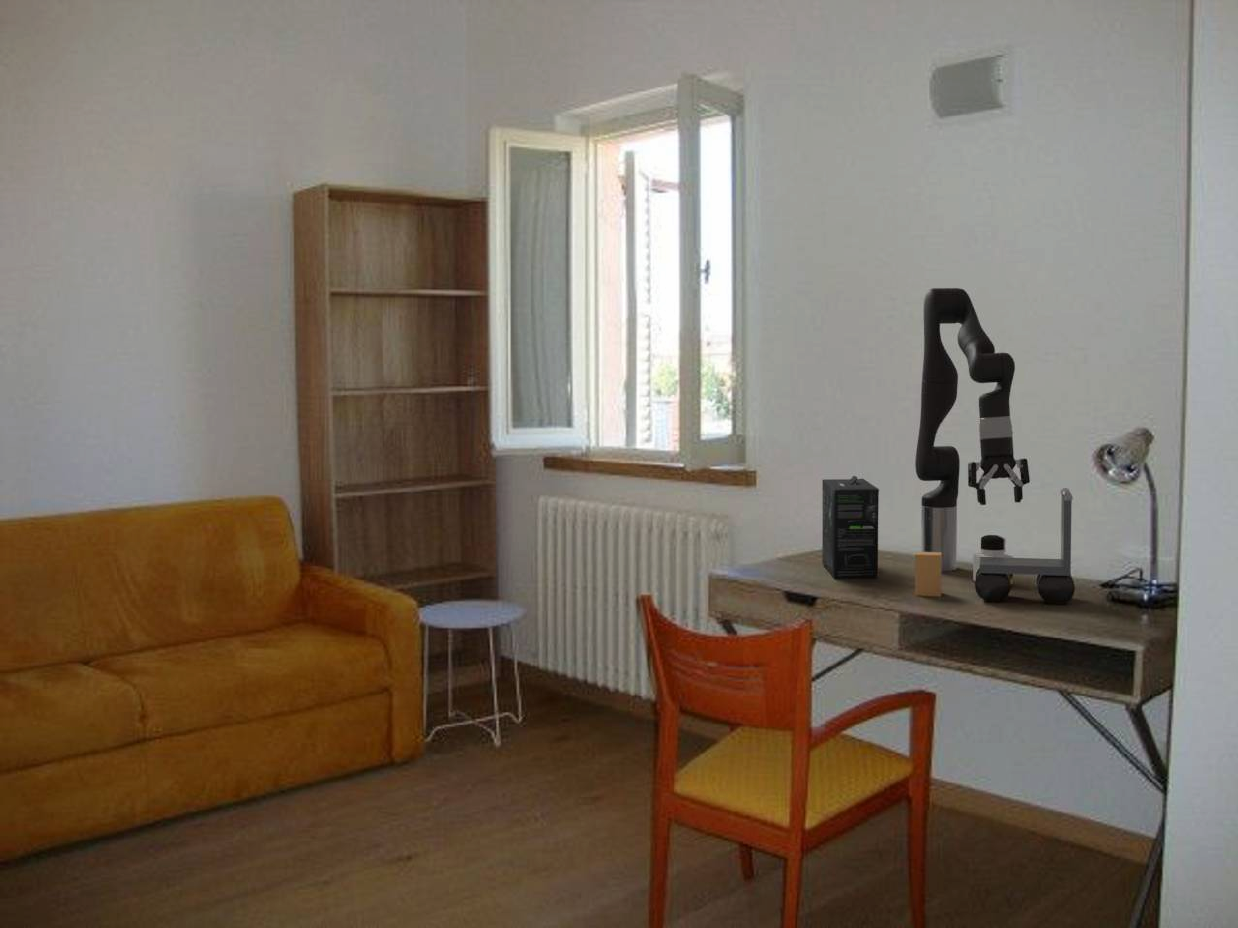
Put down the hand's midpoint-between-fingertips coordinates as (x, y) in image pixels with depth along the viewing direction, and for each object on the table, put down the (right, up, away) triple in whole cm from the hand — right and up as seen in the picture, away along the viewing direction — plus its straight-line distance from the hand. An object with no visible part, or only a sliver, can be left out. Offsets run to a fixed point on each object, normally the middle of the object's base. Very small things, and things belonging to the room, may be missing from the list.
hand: (1000, 503), depth 295 cm
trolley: (+4, -23, -5) cm, 23 cm away
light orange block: (-16, -22, +4) cm, 28 cm away
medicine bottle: (+3, -21, +17) cm, 27 cm away
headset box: (-29, -20, +36) cm, 51 cm away
